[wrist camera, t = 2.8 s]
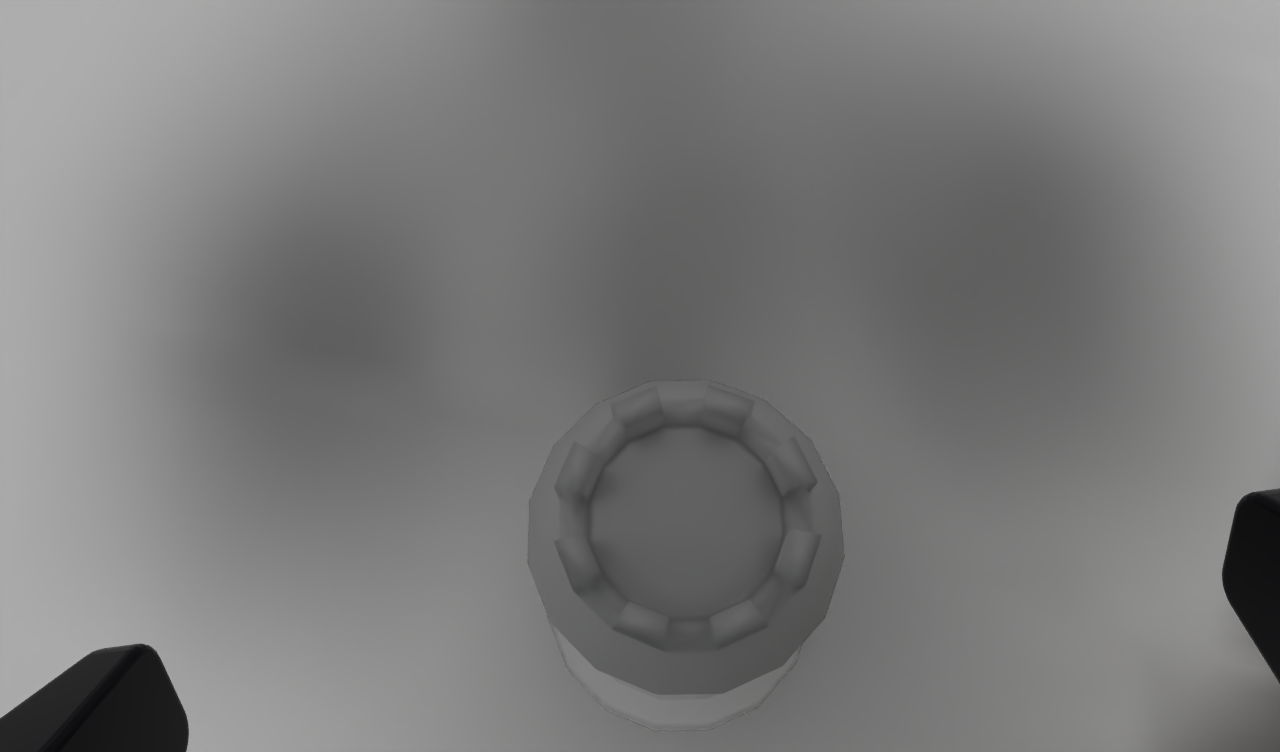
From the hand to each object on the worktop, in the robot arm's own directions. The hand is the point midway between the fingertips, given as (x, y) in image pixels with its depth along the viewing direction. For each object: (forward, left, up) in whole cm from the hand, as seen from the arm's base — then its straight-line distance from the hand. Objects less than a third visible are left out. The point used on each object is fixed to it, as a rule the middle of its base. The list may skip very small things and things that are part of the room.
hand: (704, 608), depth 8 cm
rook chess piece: (+1, +1, -9) cm, 9 cm away
